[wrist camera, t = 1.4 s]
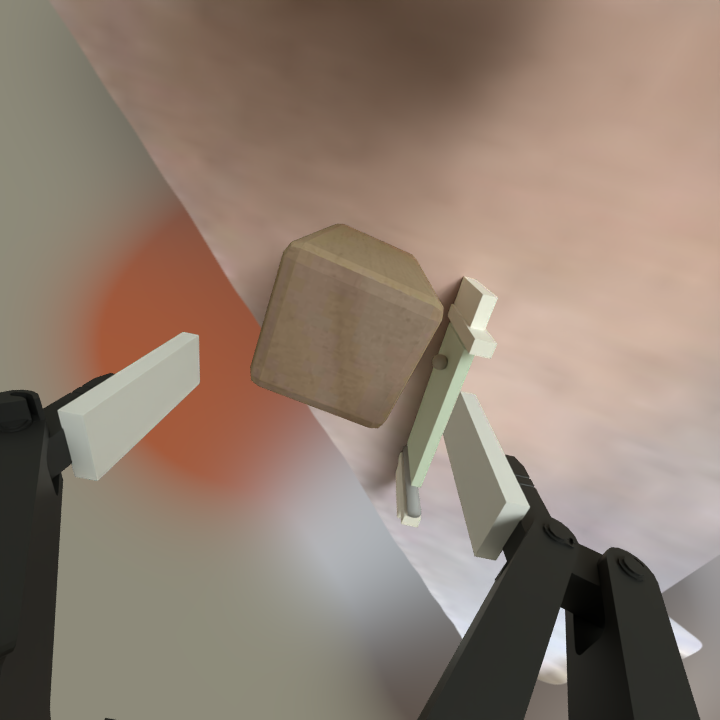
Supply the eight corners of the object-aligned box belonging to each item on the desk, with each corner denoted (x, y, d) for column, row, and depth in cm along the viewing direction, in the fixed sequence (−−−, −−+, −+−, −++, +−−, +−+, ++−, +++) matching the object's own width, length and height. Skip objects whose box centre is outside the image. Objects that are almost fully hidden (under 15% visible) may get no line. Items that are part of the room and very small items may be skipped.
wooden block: (307, 302, 39) (241, 386, 21) (336, 219, 35) (283, 235, 17) (382, 333, 40) (380, 438, 22) (419, 257, 36) (453, 310, 18)
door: (415, 444, 47) (420, 487, 40) (396, 440, 47) (398, 483, 40) (458, 324, 38) (475, 352, 31) (436, 319, 38) (448, 346, 31)
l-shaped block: (461, 275, 36) (489, 302, 26) (478, 279, 36) (512, 307, 26) (393, 472, 50) (395, 538, 40) (406, 474, 50) (411, 541, 40)
